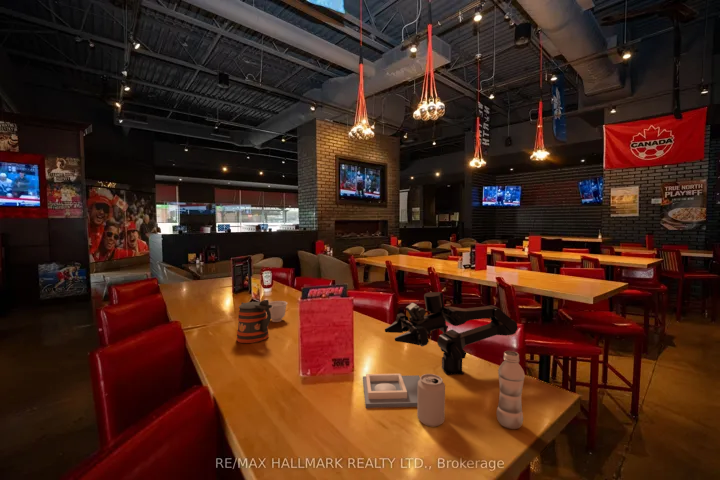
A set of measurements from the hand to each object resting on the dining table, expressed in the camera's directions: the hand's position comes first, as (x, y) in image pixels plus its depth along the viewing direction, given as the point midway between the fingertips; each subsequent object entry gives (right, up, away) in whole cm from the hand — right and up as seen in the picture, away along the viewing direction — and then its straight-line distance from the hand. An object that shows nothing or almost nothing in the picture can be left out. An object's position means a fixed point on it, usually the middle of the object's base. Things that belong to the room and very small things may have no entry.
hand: (389, 335), depth 110 cm
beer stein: (-60, -14, +41) cm, 74 cm away
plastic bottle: (+31, -18, -24) cm, 42 cm away
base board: (+1, -17, -7) cm, 18 cm away
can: (+9, -18, -21) cm, 29 cm away
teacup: (-58, -13, +68) cm, 90 cm away
